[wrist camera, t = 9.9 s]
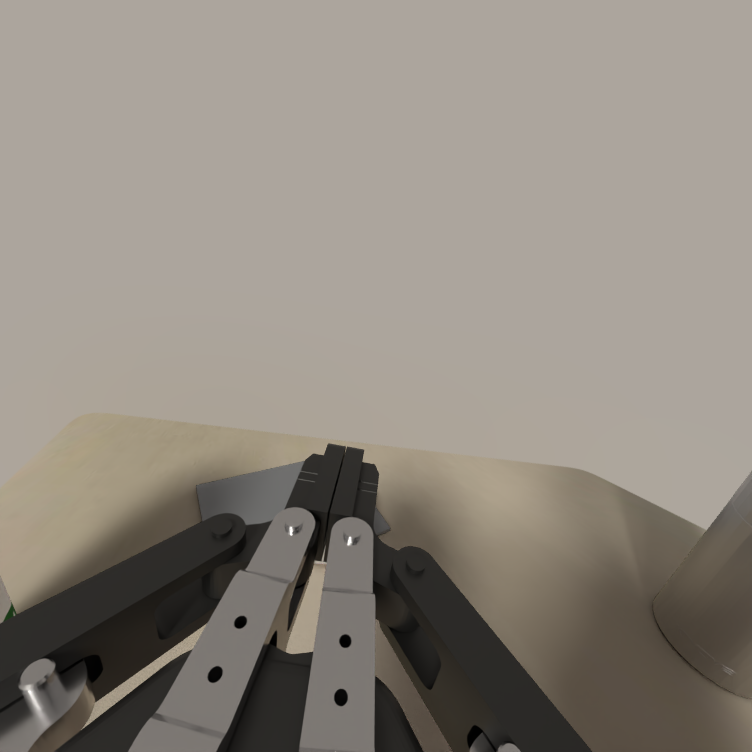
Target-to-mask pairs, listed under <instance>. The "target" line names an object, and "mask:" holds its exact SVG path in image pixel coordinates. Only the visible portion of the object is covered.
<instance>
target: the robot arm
mask: <svg viewBox="0 0 752 752" xmlns="http://www.w3.org/2000/svg"><path fill="white" fill-rule="evenodd" d="M345 450H346V452H345ZM363 454H364V450H363V449H358V448H352V447H347V449H346V446H340V445H334V444H328V445H327V448H326V451H325V454H324V455H318V454H312V455H311V456H310V457H309V458H307V459H306V460H305V461H304V464H303V466H302V468H301V471H300V473H299V475H298V478H297V480H296V483H295V485H294V487H293V490H292V492H291V495H290V497H289V499H288V502H287V504H286V507H285V509H284V510H282V511H281V512H279V513H278V514H277V515H276V516H275V517H274V519H273V520H271V521H269V522H265V523H260V524H250V525H246V524H245V522H244V520H243V519H242V518H241V517H240V516H238V515H236V514H232V513H222V514H218V515H215V516H212V517H210V518H208V519H206V520H204V521H202V522H200V523H198V524H196V525H194V526H192V527H190V528H188V529H186V530H185V531H183V532H181V533H179V534H177V535H175V536H173V537H171V538H169V539H167V540H165V541H163V542H161V543H159V544H157V545H155V546H153V547H151V548H149V549H147V550H145V551H143V552H141V553H139V554H137V555H135V556H133V557H131V558H129V559H127V560H125V561H123V562H121V563H119V564H117V565H115V566H113V567H111V568H109V569H107V570H105V571H103V572H101V573H99V574H97V575H95V576H93V577H91V578H89V579H87V580H85V581H83V582H81V583H79V584H77V585H75V586H73V587H71V588H69V589H67V590H65V591H63V592H61V593H59V594H57V595H55V596H53V597H51V598H49V599H47V600H45V601H43V602H41V603H39V604H37V605H35V606H33V607H31V608H29V609H27V610H25V611H23V612H21V613H19V614H17V615H15V616H13V617H11V618H9V619H8V620H6V621H4V622H2V623H0V752H423V750H422V748H421V746H420V744H419V742H418V740H417V738H416V736H415V734H414V732H413V730H412V728H411V726H410V724H409V722H408V720H407V718H406V716H405V714H404V712H403V710H402V708H401V706H400V704H399V703H398V701H397V700H396V698H395V697H394V695H393V693H392V692H391V691H390V690H389V689H388V687H387V686H386V685H385V684H384V683H383V682H382V681H381V680H380V679H379V678H377V677H376V676H375V619H377V620H379V623H380V627H381V629H382V631H383V633H384V634H385V636H386V638H387V640H388V641H389V643H390V645H391V646H392V648H393V650H394V652H395V653H396V655H397V657H398V658H399V660H400V662H401V663H402V665H403V667H404V669H405V670H406V672H407V674H408V675H409V677H410V679H411V681H412V682H413V684H414V686H415V687H416V689H417V691H418V693H419V694H420V696H421V698H422V699H423V701H424V703H425V704H426V706H427V708H428V710H429V711H430V713H431V715H432V716H433V718H434V720H435V722H436V723H437V725H438V727H439V728H440V730H441V732H442V733H443V735H444V737H445V739H446V740H447V742H448V744H449V745H450V747H451V749H452V751H453V752H592V751H591V750H590V748H589V747H588V746H587V745H586V744H585V742H584V741H583V740H582V739H581V737H580V736H579V735H578V734H577V733H576V731H575V730H574V729H573V728H572V727H571V725H570V724H569V723H568V722H567V720H566V719H565V718H564V717H563V716H562V714H561V713H560V712H559V711H558V709H557V708H556V707H555V706H554V705H553V703H552V702H551V701H550V700H549V699H548V697H547V696H546V695H545V694H544V692H543V691H542V690H541V689H540V688H539V686H538V685H537V684H536V683H535V682H534V680H533V679H532V678H531V677H530V675H529V674H528V673H527V672H526V671H525V669H524V668H523V667H522V666H521V665H520V663H519V662H518V661H517V660H516V658H515V657H514V656H513V655H512V654H511V652H510V651H509V650H508V649H507V648H506V646H505V645H504V644H503V643H502V641H501V640H500V639H499V638H498V637H497V635H496V634H495V633H494V632H493V631H492V629H491V628H490V627H489V626H488V624H487V623H486V622H485V621H484V620H483V618H482V617H481V616H480V615H479V613H478V612H477V611H476V610H475V609H474V607H473V606H472V605H471V604H470V603H469V601H468V600H467V599H466V598H465V596H464V595H463V594H462V593H461V592H460V590H459V589H458V588H457V587H456V586H455V584H454V583H453V582H452V581H451V579H450V578H449V577H448V576H447V575H446V573H445V572H444V571H443V570H442V569H441V567H440V566H439V565H438V564H437V562H436V561H435V560H434V559H433V558H432V556H431V555H430V554H429V553H427V552H426V551H424V550H423V549H421V548H418V547H413V546H408V547H404V548H401V549H400V550H399V551H397V550H395V549H393V548H391V547H389V546H387V545H386V544H384V543H383V542H382V541H381V540H380V539H379V538H378V537H377V535H376V533H375V531H374V515H375V506H376V497H377V487H378V478H379V473H378V471H377V468H376V466H375V464H370V463H364V462H362V460H363ZM325 545H326V546H325ZM324 549H325V553H324ZM323 553H324V561H323V562H327V564H326V571H325V577H324V584H323V590H322V597H321V604H320V610H319V617H318V624H317V631H316V638H315V644H314V651H313V652H309V653H300V654H289V653H286V648H287V644H288V640H289V637H290V634H291V631H292V628H293V626H294V623H295V620H296V617H297V614H298V611H299V609H300V606H301V603H302V600H303V597H304V594H305V591H306V589H307V586H308V583H309V577H310V575H311V573H312V569H313V566H314V562H315V561H322V557H323ZM653 612H654V616H655V619H656V621H657V623H658V625H659V627H660V629H661V631H662V632H663V634H664V635H665V636H666V638H667V639H668V641H669V642H670V643H671V644H672V646H673V647H674V648H675V649H676V650H677V651H678V653H679V654H680V655H681V656H682V657H684V658H685V659H686V660H687V661H688V662H689V663H690V664H691V665H692V666H693V667H694V668H696V669H697V670H698V671H699V672H701V673H702V674H703V675H704V676H706V677H707V678H709V679H710V680H712V681H713V682H715V683H716V684H717V685H719V686H721V687H723V688H725V689H727V690H728V691H730V692H732V693H735V694H737V695H740V696H742V697H745V698H749V699H752V471H751V473H750V474H749V475H748V477H747V478H746V479H745V481H744V482H743V483H742V485H741V486H740V487H739V488H738V490H737V491H736V492H735V494H734V495H733V497H732V498H731V499H730V501H729V502H728V503H727V505H726V506H725V507H724V509H723V510H722V511H721V513H720V514H719V515H718V516H717V518H716V519H715V520H714V522H713V523H712V524H711V526H710V527H709V528H708V530H707V531H706V532H705V533H704V535H703V536H702V537H701V539H700V540H699V541H698V543H697V544H696V545H695V547H694V548H693V549H692V551H691V552H690V553H689V554H688V556H687V557H686V558H685V560H684V561H683V562H682V564H681V565H680V566H679V568H678V569H677V570H676V572H675V573H674V574H673V575H672V576H671V578H670V579H669V580H668V582H667V583H666V584H665V586H664V587H663V588H662V590H661V591H660V592H659V593H658V595H657V596H656V597H655V599H654V602H653ZM206 623H207V625H206V627H205V629H204V630H203V632H202V634H201V636H200V637H199V639H198V641H197V643H196V644H195V646H194V648H193V649H192V650H190V651H188V652H186V653H184V654H182V655H180V656H179V657H177V658H175V659H174V660H172V661H171V662H169V663H168V664H166V665H165V666H164V667H162V668H161V669H160V670H159V671H157V672H156V673H155V674H153V675H152V676H151V677H150V678H148V679H147V680H146V681H144V682H143V683H142V684H140V685H139V686H138V687H137V688H135V689H134V690H133V691H131V692H130V693H129V694H128V695H126V696H125V697H124V698H122V699H121V700H120V701H118V702H117V703H116V704H115V705H113V706H112V707H111V708H109V709H108V710H107V711H106V712H104V713H103V714H102V715H100V716H99V717H98V718H96V719H95V720H94V721H93V722H91V723H90V724H89V725H87V726H86V727H85V728H83V727H84V725H85V724H86V722H87V721H88V719H89V717H90V715H91V713H92V711H93V708H94V704H95V702H97V701H98V700H99V699H101V698H102V697H104V696H105V695H106V694H108V693H109V692H111V691H112V690H113V689H115V688H116V687H118V686H119V685H121V684H122V683H123V682H125V681H126V680H128V679H129V678H130V677H132V676H133V675H135V674H136V673H137V672H139V671H140V670H142V669H143V668H144V667H146V666H147V665H149V664H150V663H152V662H153V661H154V660H156V659H157V658H159V657H160V656H161V655H163V654H164V653H166V652H167V651H168V650H170V649H171V648H173V647H174V646H175V645H177V644H178V643H180V642H181V641H183V640H184V639H185V638H187V637H188V636H190V635H191V634H192V633H194V632H195V631H197V630H198V629H199V628H201V627H202V626H204V625H205V624H206ZM82 728H83V729H82ZM81 729H82V730H81Z"/></svg>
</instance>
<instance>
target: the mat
mask: <svg viewBox="0 0 752 752" xmlns="http://www.w3.org/2000/svg"><path fill="white" fill-rule="evenodd" d="M303 464H304V461H302V462H298V463H293V464H289V465H284V466H280V467H276V468H271V469H267V470H262V471H258V472H253V473H249V474H244V475H240V476H235V477H231V478H226V479H222V480H218V481H213V482H209V483H204V484H200V485H196V489H197V495H198V500H199V506H200V511H201V517H202V521H204V520H206V519H208V518H210V517H212V516H215V515H218V514H222V513H232V514H236V515H238V516H240V517H241V518H242V519H243V520H244V522H245V524H246V525H250V524H260V523H265V522H269V521H271V520H273V519H274V517H275V516H276V515H277V514H278V513H279V512H281V511H282V510H284V509H285V507H286V504H287V502H288V499H289V497H290V495H291V492H292V490H293V487H294V485H295V483H296V480H297V478H298V475H299V473H300V471H301V468H302V466H303ZM390 529H391V528H390V527H389V525H388V524H387V523H386V521H385V520H384V518H383V517H382V515H381V514H380V513H379V511H378V510H377V508H376V507H375V515H374V531H375V533H376V535H377V536H378V535H381V534H383V533H386V532H388V531H390Z"/></svg>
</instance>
